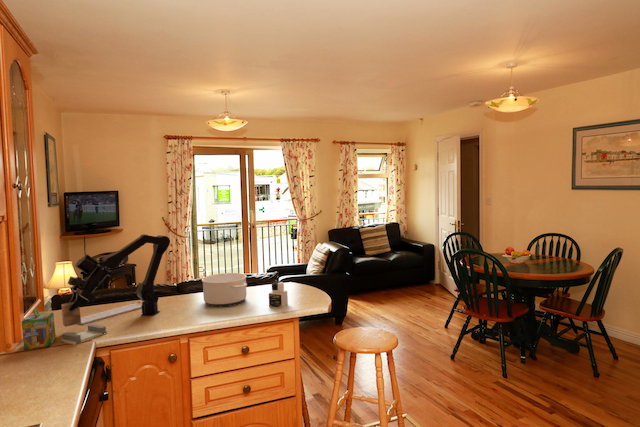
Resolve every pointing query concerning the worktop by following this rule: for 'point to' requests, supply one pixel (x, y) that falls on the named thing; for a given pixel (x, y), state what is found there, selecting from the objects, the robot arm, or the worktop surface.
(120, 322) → the worktop surface
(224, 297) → the pot
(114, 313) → the baseboard
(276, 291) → the medicine bottle
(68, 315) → the brown block
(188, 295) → the worktop surface
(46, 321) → the chalk box
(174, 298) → the worktop surface
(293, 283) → the worktop surface
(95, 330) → the holder
